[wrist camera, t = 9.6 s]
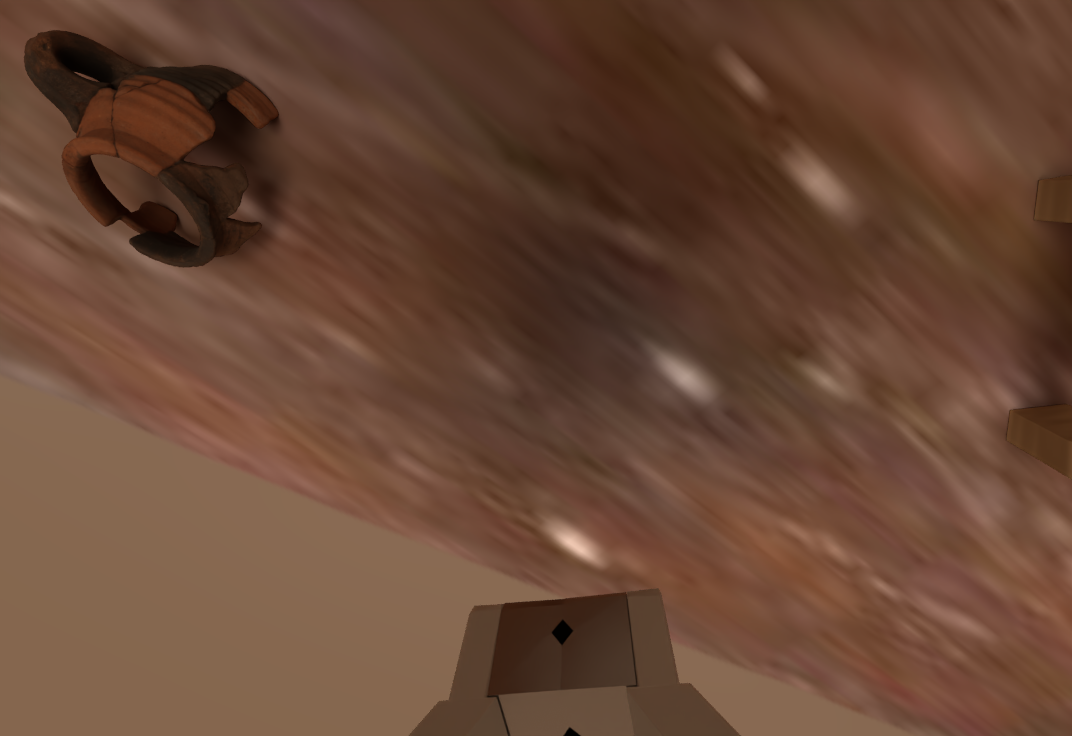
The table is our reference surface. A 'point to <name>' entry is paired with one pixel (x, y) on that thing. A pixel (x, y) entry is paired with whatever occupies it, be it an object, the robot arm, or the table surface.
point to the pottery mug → (148, 140)
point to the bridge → (1058, 430)
